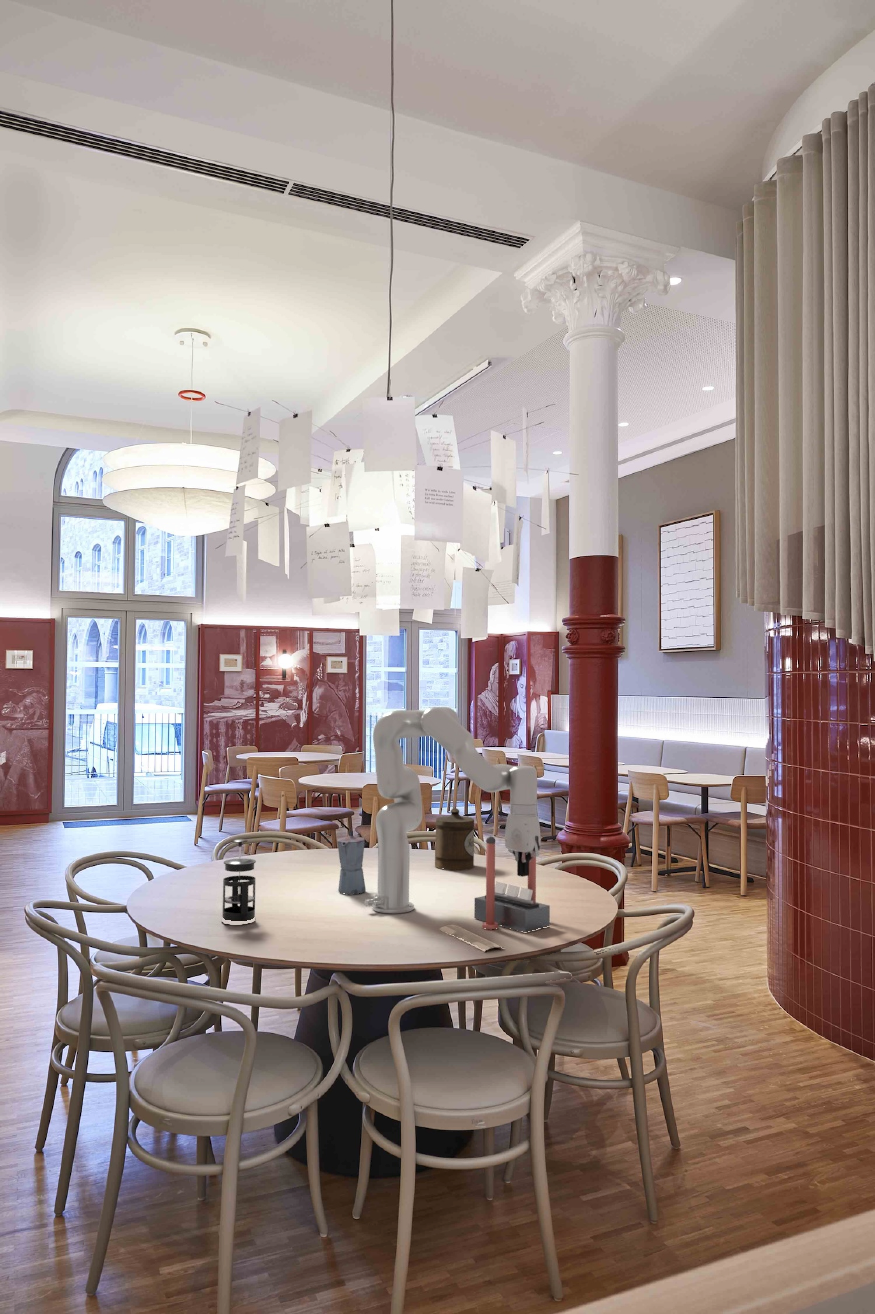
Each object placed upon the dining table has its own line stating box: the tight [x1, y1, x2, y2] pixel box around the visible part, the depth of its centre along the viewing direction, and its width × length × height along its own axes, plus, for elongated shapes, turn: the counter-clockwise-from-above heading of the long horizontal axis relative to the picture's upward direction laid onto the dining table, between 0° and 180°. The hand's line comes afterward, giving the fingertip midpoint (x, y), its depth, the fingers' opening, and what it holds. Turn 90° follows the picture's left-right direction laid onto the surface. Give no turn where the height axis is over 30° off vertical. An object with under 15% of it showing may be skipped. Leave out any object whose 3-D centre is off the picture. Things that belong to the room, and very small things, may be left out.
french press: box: [221, 838, 257, 921], centre depth 243 cm, size 12×9×23 cm
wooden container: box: [434, 807, 475, 871], centre depth 326 cm, size 15×15×22 cm
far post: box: [527, 857, 537, 902], centre depth 250 cm, size 4×4×25 cm
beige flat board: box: [439, 924, 505, 951], centre depth 226 cm, size 24×7×2 cm, turn 29°
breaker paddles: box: [495, 881, 534, 904], centre depth 244 cm, size 1×16×4 cm, turn 41°
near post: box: [481, 835, 499, 931], centre depth 239 cm, size 4×4×25 cm
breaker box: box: [473, 894, 551, 932], centre depth 244 cm, size 10×20×7 cm, turn 41°
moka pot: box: [336, 830, 367, 895], centre depth 282 cm, size 10×15×20 cm, turn 166°
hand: (523, 875), depth 241 cm, fingers closed
